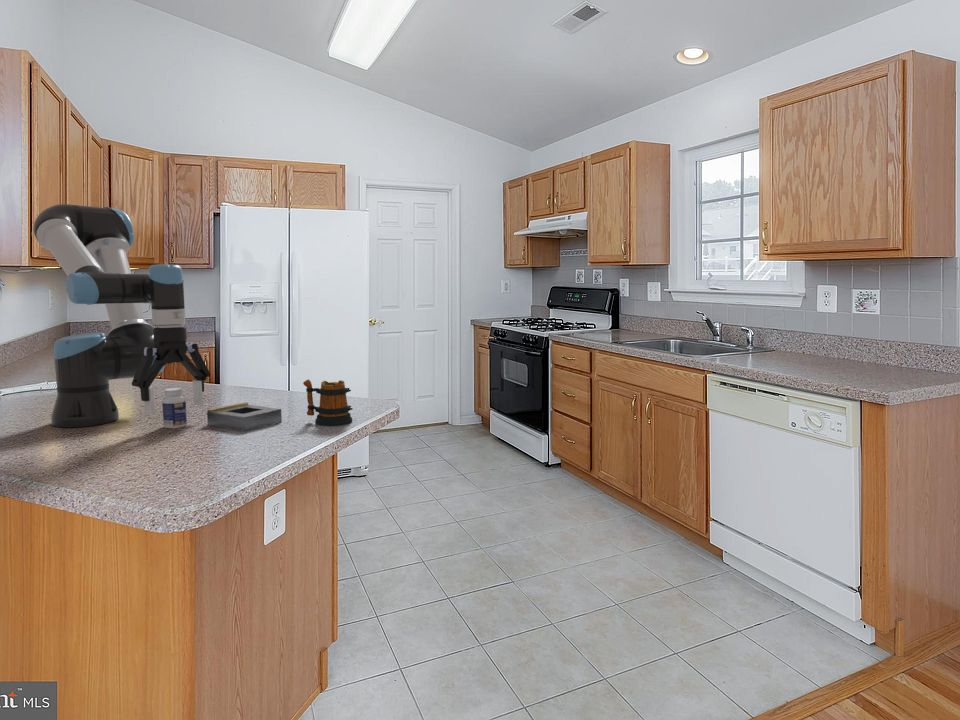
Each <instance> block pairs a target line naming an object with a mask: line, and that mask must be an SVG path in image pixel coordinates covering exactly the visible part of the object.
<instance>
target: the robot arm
mask: <svg viewBox="0 0 960 720" xmlns="http://www.w3.org/2000/svg"><path fill="white" fill-rule="evenodd" d="M133 227H134V226H133V223H132V221H131V219H130V217H129V216H128V214H127V213H126V212H124V211H123V210H122V209H120V208H119V209H118V208H113V207H109V206H104V207H101V206H100V207H99V206H91V205H90V206H89V205H80V204H69V203H62V204H60V203H59V204H54V205H52V206H49V207H47V208H45V209H44V210H42V211H41V212H40V213H39V214H38V215H37V217H36V218H35V221H34V223H33V233H34V237H35V239H36V240H37V242H38V244H40V246H42V248H44V249H45V250H48V251H49V252H50V253H51V254H52V256H53V258H54V259H55V261H56V262H57V263H58V265H59V266H60V267H61V269H62V270H63V272H64V273H65V275H66V276H67V278H66V281H65V282H66V283H65V286H66V293H67V298H68V299H69V301H70V302H72V303H73V304H76V305H88V306H89V305H102V304H104V305H105V308H106V312H107V315H108V319H109V323H110V326H111V329H110V330H109V331H108V333H107V335H106V333H105V332H104V331H103V332H101V331H97V332H94V331H93V332H85V333H78V334H73V335H68V336H67V335H66V336H64V337H63V336H62V337H60V338H58V339H56V341H54V344H53V359H54V368H55V369H54V370H55V381H56V390H57V391H56V392H57V393H56V399H55V403H54V406H53V409H52V413H51V415H50V416H51V421H50V422H51V425H52V426H53V427H55V428H56V427H57V428H83V427H91V426H99V425H103V424H108V423H109V424H110V423H112V422H115V421H117V420H118V419H120V417H119V416H120V415H119V414H120V413H119V409H118V407H117V405H116V403H115V400H114V398H113V396H112V393H111V391H110V384H109V382H110V380H111V381H112V380H121V379H130V378H131V379H132V378H133V379H132V381H131V386H133V387H137V388H139V389H140V399H141V401H142V402H143V404H144V414H145V415H155V414H156V413H155V411H156V410H155V400H154V397H155V396H154V388H153V387H151V385H152V384H153V382H154V381H155V379H156V378H157V376H158V375H159V374H160V373H162V372H163V371H164V370H165V367H166V365H167V364H168V365H169V364H170V365H171V364H173V363H180V364H181V365H182V366H183V367H184V368H185V369H186V370H187V372H189V374H190V375H191V376H192V377H193V378H194V380H192V393H193V395H192V396H193V405H195V406H203V405H204V399H203V392H205V381H206V380H207V378H209V377H210V376H211V372H210V370H209V368H208V366H207V365H206V362H205V361H204V359H203V357H202V355H201V353H200V352H199V351H200V350H199V345H198V343H194V342H193V343H191V342H190V343H188V344H187V340H188V336H187V328H186V327H185V326H184V325H186V323H187V322H186V309H185V308H186V307H185V292H184V291H185V289H184V288H185V287H184V281H185V280H184V277H183V268H182V266H180V265H178V264H152V265H150V266H149V267H148V273H132V270H131V267H130V263H129V260H128V256H127V253H129V251H130V250H131V246H133V243H134V240H135V235H134V228H133ZM142 304H150V305H151V308H150V309H151V322H152V323H151V324H150V323H148V322H146V319H145V316H144V312H143V308H142ZM153 326H154V327H153ZM187 352H188V354H189V356H188V355H187V354H186V353H187ZM190 357H191V359H192V361H193V362H192V361H191V359H190Z"/></svg>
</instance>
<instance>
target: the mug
mask: <svg viewBox="0 0 960 720" xmlns="http://www.w3.org/2000/svg"><path fill="white" fill-rule="evenodd" d="M302 384H303V386H305V387H306V391H305V392H306V394H307V395H306V399H307V403H308V405H307V411H306V415H307V416H311V417H312V416H315V412H316V413H318V414H317V415H316V419H315V425H316V426H320V427H340V426H346V425H349V424H351V423H353V417H352V416H351V415H352V414H351V413H350V411H353V407H352V405H348V401H347V400H348V399H347V393H349V392H351V391H352V389H350V387H346V384H345V381H344V380H338V381H334V382H333V381H331V382H330V381H329V382H328V381H327V380H323V381H322V382H321V385H320V388H319V387H313V385H312V381H311V380H310V379H306V380H304V382H303V383H302ZM313 392H315V393H316V394H319V395H320V397H319V406H315V405H314V399H313Z"/></svg>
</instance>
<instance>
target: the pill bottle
mask: <svg viewBox="0 0 960 720" xmlns="http://www.w3.org/2000/svg"><path fill="white" fill-rule="evenodd" d="M182 395H183V389H182V388H180V387H173V388H172V387H171V388H165V389H164V396H165V397H164V398H163V399H162V404H161V405H162V406H161V407H162V421H163V427H164V428H165V429H178V428H184V427H186V426H187V402H186V398H185V397H184V396H182Z"/></svg>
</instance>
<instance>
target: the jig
mask: <svg viewBox="0 0 960 720" xmlns="http://www.w3.org/2000/svg"><path fill="white" fill-rule="evenodd" d="M206 416H207V426H212V427H216V428H217V427H218V428H223V429H230V430H236V431H242V432H247V431H251V430H255V429H259V428H264V427H267V426H271V425H275V424H279V423H280V424H281V423H282V420H283V419H282V409H281V408H277V407H269V406H268V407H267V406H262V405H261V406H259V405H256V404H255V405H254V404H249V402H247V401H243V402H238V403H233V404H229V405H224V406H219V407H214V408H210V409H207V411H206Z"/></svg>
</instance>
